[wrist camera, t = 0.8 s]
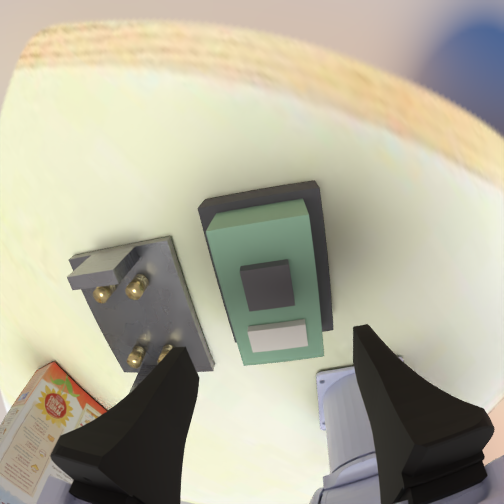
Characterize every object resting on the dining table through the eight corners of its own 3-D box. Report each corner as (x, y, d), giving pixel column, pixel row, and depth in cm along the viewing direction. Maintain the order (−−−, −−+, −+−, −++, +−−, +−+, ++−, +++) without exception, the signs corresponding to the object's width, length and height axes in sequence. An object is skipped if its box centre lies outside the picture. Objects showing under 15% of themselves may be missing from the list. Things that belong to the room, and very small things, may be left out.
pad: (329, 313, 22) (333, 329, 21) (238, 325, 23) (235, 342, 21) (314, 180, 18) (319, 187, 17) (204, 199, 19) (197, 208, 18)
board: (318, 326, 20) (325, 362, 17) (247, 335, 21) (242, 372, 18) (302, 198, 17) (310, 218, 14) (216, 213, 18) (203, 235, 14)
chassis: (214, 364, 25) (206, 402, 21) (127, 366, 27) (111, 398, 23) (170, 236, 21) (148, 264, 17) (73, 255, 22) (43, 280, 18)
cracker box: (36, 369, 29) (-39, 489, 10) (55, 358, 28) (-31, 499, 9) (110, 436, 34) (65, 555, 15) (136, 432, 32) (91, 568, 13)
